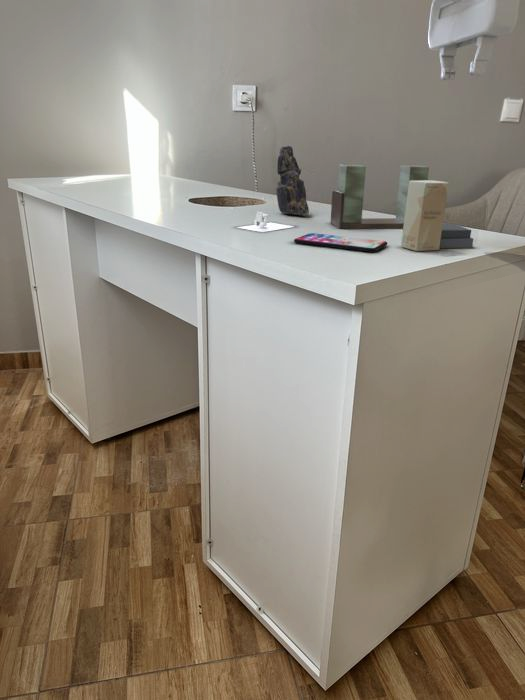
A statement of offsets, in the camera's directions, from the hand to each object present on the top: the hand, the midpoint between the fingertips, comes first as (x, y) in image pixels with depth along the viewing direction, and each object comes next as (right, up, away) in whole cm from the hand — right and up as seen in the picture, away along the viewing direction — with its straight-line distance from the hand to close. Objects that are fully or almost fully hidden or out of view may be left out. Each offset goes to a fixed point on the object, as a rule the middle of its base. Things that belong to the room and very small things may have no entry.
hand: (461, 77), depth 84 cm
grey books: (+3, -22, +16) cm, 27 cm away
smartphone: (-16, -23, +13) cm, 31 cm away
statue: (-23, -9, +47) cm, 53 cm away
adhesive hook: (-29, -16, +29) cm, 44 cm away
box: (-3, -24, +11) cm, 27 cm away
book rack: (-6, -15, +33) cm, 37 cm away
